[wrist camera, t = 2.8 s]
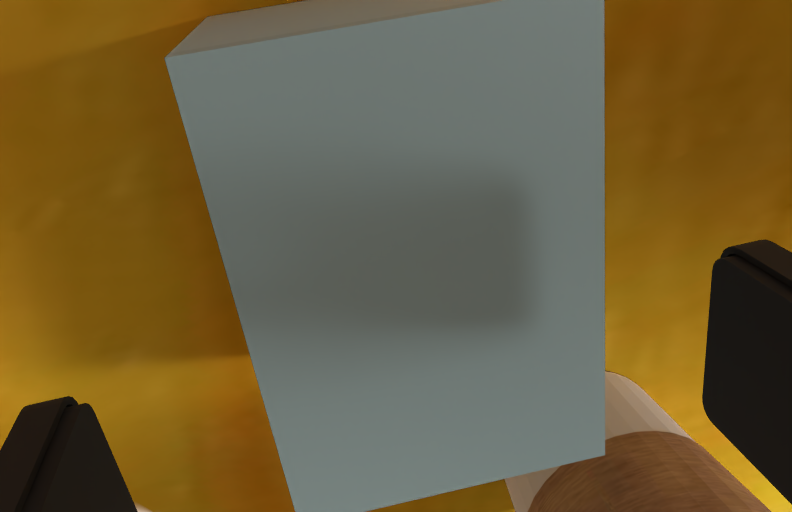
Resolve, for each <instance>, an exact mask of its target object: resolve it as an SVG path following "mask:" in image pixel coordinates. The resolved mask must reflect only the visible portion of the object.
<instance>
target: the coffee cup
mask: <svg viewBox="0 0 792 512" xmlns="http://www.w3.org/2000/svg"><path fill="white" fill-rule="evenodd" d="M505 482H506V485H507V488H508V491H509V494H510V497H511V500H512V503H513V506H514V509H515V512H771V511H770V510H769V509H768V508H767V507H766V506H765V505H764V504H763V503H762V502H761V501H760V500H758V499H757V498H756V497H755V496H754V495H753V494H752V493H751V492H750V491H749V490H748V489H747V488H746V487H745V486H744V485H742V484H741V483H740V482H739V481H738V480H737V479H736V478H735V477H734V476H733V475H732V474H731V473H730V472H729V471H728V470H727V469H725V468H724V467H723V466H722V465H721V464H720V463H719V462H718V461H717V460H716V459H715V458H714V457H713V456H712V455H711V454H709V453H708V452H707V451H706V450H705V449H704V448H703V447H702V446H700V445H699V444H697V443H696V442H695V441H694V440H693V439H692V438H691V437H690V436H689V435H688V434H687V433H686V432H685V431H684V430H683V429H682V428H681V427H680V426H679V425H678V424H677V423H676V422H675V421H674V420H673V419H672V418H671V417H670V416H669V415H668V414H667V413H666V412H665V411H664V410H663V409H662V408H661V407H660V406H659V405H658V404H657V403H656V402H655V401H654V400H653V399H652V398H651V397H650V396H649V395H648V394H647V393H646V392H645V391H644V390H643V389H642V388H640V387H639V386H638V385H637V384H636V383H634V382H633V381H631V380H630V379H628V378H627V377H624V376H621V375H619V374H616V373H613V372H607V371H605V455H603V456H599V457H595V458H591V459H586V460H582V461H578V462H574V463H569V464H565V465H561V466H557V467H553V468H548V469H544V470H540V471H536V472H531V473H527V474H523V475H519V476H514V477H510V478H506V479H505Z"/></svg>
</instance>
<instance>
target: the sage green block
mask: <svg viewBox="0 0 792 512" xmlns="http://www.w3.org/2000/svg"><path fill="white" fill-rule="evenodd" d="M164 59H165V62H166V66H167V69H168V73H169V76H170V80H171V83H172V86H173V90H174V93H175V97H176V100H177V104H178V107H179V111H180V114H181V118H182V121H183V125H184V128H185V132H186V135H187V138H188V142H189V145H190V149H191V152H192V156H193V159H194V163H195V166H196V170H197V173H198V177H199V180H200V183H201V187H202V190H203V194H204V197H205V201H206V204H207V208H208V211H209V215H210V218H211V222H212V225H213V229H214V232H215V235H216V239H217V242H218V246H219V249H220V253H221V256H222V260H223V263H224V267H225V270H226V274H227V277H228V281H229V284H230V287H231V291H232V294H233V298H234V301H235V305H236V308H237V312H238V315H239V319H240V322H241V326H242V329H243V332H244V336H245V339H246V343H247V346H248V350H249V353H250V357H251V360H252V364H253V367H254V371H255V374H256V378H257V381H258V384H259V388H260V391H261V395H262V398H263V402H264V405H265V409H266V412H267V416H268V419H269V423H270V426H271V429H272V433H273V436H274V440H275V443H276V447H277V450H278V454H279V457H280V461H281V464H282V468H283V471H284V475H285V478H286V481H287V485H288V488H289V492H290V495H291V499H292V502H293V506H294V509H295V512H366V511H370V510H374V509H379V508H383V507H387V506H391V505H396V504H400V503H404V502H408V501H413V500H417V499H421V498H425V497H430V496H434V495H438V494H442V493H446V492H451V491H455V490H459V489H463V488H468V487H472V486H476V485H480V484H485V483H489V482H493V481H497V480H502V479H506V478H510V477H514V476H519V475H523V474H527V473H531V472H536V471H540V470H544V469H548V468H553V467H557V466H561V465H565V464H569V463H574V462H578V461H582V460H586V459H591V458H595V457H599V456H603V455H605V67H604V0H305V1H299V2H293V3H287V4H281V5H275V6H269V7H263V8H257V9H251V10H244V11H238V12H232V13H226V14H220V15H214V16H208V17H206V18H205V19H204V20H203V21H202V22H201V23H200V24H199V25H198V26H197V27H196V28H195V29H194V30H193V31H192V32H191V33H190V34H189V35H188V36H187V37H186V38H185V39H184V40H182V41H181V42H180V43H179V44H178V45H177V46H176V47H175V48H174V49H173V50H172V51H171V52H170V53H169V54H168V55H167V56H166V57H165V58H164Z"/></svg>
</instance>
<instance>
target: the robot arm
mask: <svg viewBox="0 0 792 512" xmlns="http://www.w3.org/2000/svg"><path fill="white" fill-rule="evenodd" d="M702 399H703V406H704V410H705V412H706V414H707V416H708V418H709V419H710V421H711V422H712V423H713V424H714V425H715V426H716V427H717V428H718V429H719V430H720V431H721V432H722V433H723V434H724V435H725V437H726V438H727V439H728V440H729V441H730V442H731V443H732V444H733V445H734V446H735V447H736V448H737V449H738V450H739V451H740V452H741V453H742V454H743V455H744V456H745V457H746V458H747V459H748V460H749V461H750V462H751V463H752V464H753V465H754V466H755V467H756V468H757V469H758V470H759V471H760V472H761V473H762V474H763V475H764V476H765V478H766V479H767V480H768V481H769V482H770V483H771V484H772V485H773V486H774V487H775V488H776V489H777V490H778V491H779V492H780V493H781V494H782V495H783V496H784V497H785V498H786V499H787V500H788V501H789V502H790V503H791V504H792V253H791V252H789V251H788V250H786V249H784V248H782V247H780V246H779V245H777V244H775V243H773V242H771V241H768V240H758V241H754V242H749V243H745V244H741V245H736V246H732V247H728V248H727V249H725V250H724V251H723V253H722V255H721V258H720V259H718V260H717V261H715V263H714V265H713V270H712V281H711V294H710V307H709V320H708V332H707V345H706V358H705V371H704V384H703V396H702ZM0 512H137V509H136V507H135V505H134V502H133V500H132V498H131V495H130V493H129V491H128V488H127V486H126V484H125V482H124V479H123V477H122V475H121V472H120V470H119V468H118V465H117V463H116V461H115V458H114V456H113V454H112V452H111V449H110V447H109V445H108V442H107V440H106V438H105V435H104V433H103V431H102V428H101V426H100V424H99V422H98V419H97V417H96V415H95V412H94V410H93V409H92V407H91V406H90V405H89V404H87V403H84V404H79V405H78V403H77V401H76V400H75V399H74V398H73V397H70V396H67V397H63V398H58V399H54V400H49V401H45V402H41V403H36V404H32V405H28V406H25V407H24V408H23V409H22V410H21V412H20V413H19V415H18V417H17V419H16V421H15V423H14V425H13V427H12V429H11V431H10V433H9V435H8V437H7V438H6V440H5V442H4V444H3V446H2V448H1V450H0Z"/></svg>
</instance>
